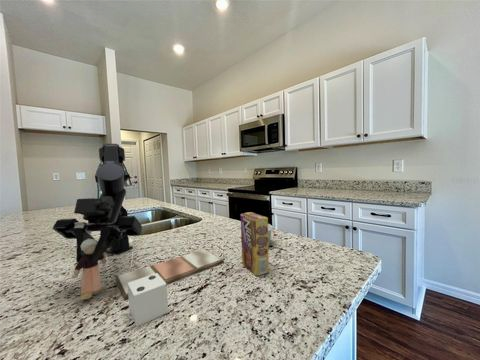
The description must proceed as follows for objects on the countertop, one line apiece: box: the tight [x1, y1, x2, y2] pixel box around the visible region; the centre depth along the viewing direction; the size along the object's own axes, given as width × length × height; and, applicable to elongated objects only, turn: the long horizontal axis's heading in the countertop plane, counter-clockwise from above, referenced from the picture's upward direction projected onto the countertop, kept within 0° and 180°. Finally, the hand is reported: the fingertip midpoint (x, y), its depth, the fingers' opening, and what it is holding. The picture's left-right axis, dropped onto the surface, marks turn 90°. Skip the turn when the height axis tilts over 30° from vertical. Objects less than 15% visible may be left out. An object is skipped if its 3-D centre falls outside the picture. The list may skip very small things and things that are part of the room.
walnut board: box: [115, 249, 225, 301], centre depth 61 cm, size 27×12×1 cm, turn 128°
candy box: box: [240, 211, 270, 277], centre depth 60 cm, size 9×4×15 cm, turn 26°
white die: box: [127, 273, 169, 327], centre depth 44 cm, size 6×6×6 cm
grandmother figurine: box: [71, 238, 107, 300], centre depth 49 cm, size 8×4×13 cm, turn 173°
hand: (85, 261), depth 48 cm, fingers closed on grandmother figurine, 3 cm apart
